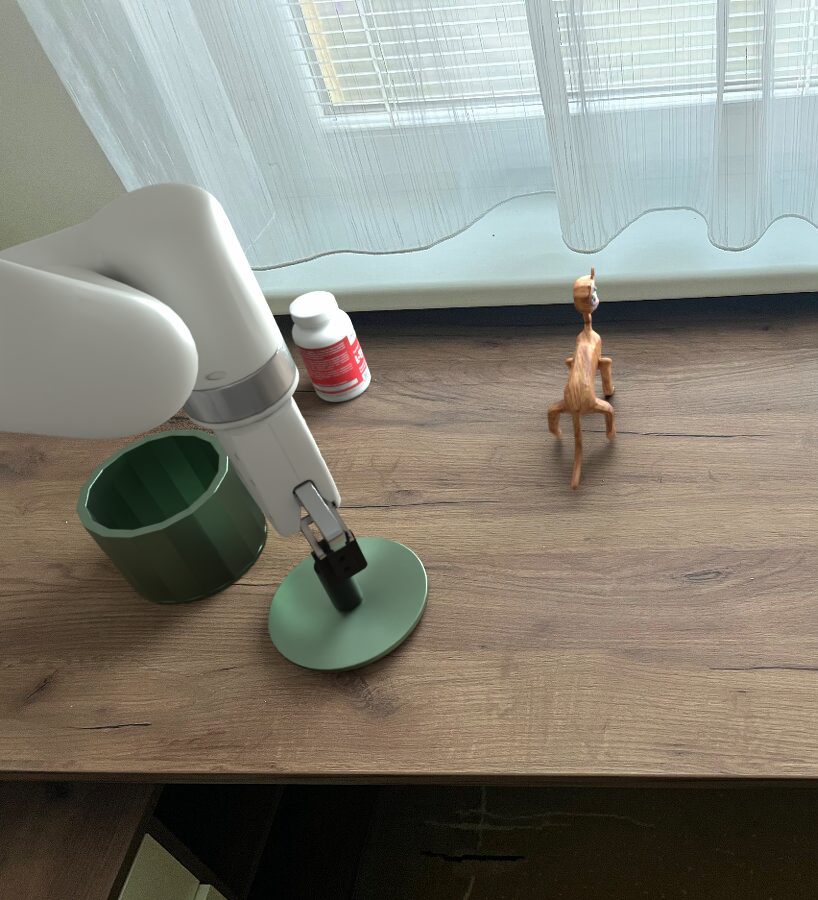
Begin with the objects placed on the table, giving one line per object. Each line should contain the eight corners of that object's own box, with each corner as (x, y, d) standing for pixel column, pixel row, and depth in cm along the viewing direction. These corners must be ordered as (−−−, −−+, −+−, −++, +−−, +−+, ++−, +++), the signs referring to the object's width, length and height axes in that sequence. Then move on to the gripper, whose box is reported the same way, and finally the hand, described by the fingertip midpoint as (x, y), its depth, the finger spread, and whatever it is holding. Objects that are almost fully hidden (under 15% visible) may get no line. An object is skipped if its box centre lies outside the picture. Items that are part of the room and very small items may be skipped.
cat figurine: (610, 499, 81) (595, 388, 71) (540, 498, 82) (516, 387, 72) (628, 374, 94) (617, 264, 84) (567, 374, 94) (550, 266, 85)
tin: (155, 630, 76) (99, 562, 69) (114, 546, 83) (61, 477, 76) (288, 552, 80) (249, 481, 74) (238, 479, 88) (198, 409, 81)
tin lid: (313, 708, 68) (285, 666, 64) (248, 602, 77) (220, 558, 72) (459, 611, 74) (443, 566, 69) (384, 521, 82) (365, 476, 78)
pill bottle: (378, 391, 96) (348, 308, 88) (324, 411, 94) (288, 329, 86) (363, 361, 100) (333, 279, 92) (311, 380, 98) (275, 299, 91)
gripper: (138, 342, 61) (236, 503, 73) (227, 473, 50) (325, 636, 63) (239, 295, 64) (318, 458, 76) (343, 410, 53) (415, 578, 65)
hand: (321, 538), depth 69 cm, fingers open, 9 cm apart
